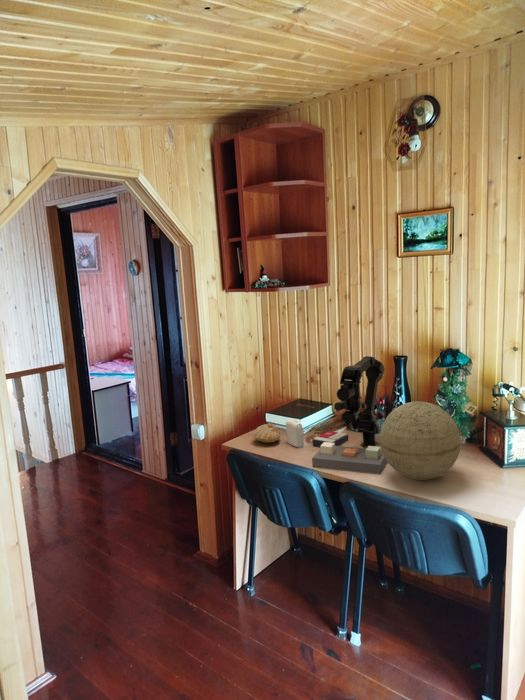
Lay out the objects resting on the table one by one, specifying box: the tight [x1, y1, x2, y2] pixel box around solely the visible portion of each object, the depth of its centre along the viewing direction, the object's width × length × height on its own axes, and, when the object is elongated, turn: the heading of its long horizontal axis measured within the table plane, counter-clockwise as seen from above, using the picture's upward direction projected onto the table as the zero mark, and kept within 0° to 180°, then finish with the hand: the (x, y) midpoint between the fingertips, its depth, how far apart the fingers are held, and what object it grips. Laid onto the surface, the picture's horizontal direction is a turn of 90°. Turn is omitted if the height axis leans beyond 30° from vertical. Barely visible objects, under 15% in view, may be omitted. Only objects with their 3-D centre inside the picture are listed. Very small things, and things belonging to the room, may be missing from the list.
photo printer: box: [285, 418, 305, 448], centre depth 248 cm, size 10×4×12 cm, turn 29°
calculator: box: [312, 430, 349, 449], centre depth 247 cm, size 11×4×15 cm
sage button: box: [366, 445, 381, 460], centre depth 216 cm, size 5×5×5 cm
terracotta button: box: [343, 448, 358, 457], centre depth 221 cm, size 5×5×5 cm
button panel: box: [311, 445, 388, 475], centre depth 221 cm, size 16×29×4 cm, turn 64°
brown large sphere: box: [379, 401, 462, 481], centre depth 200 cm, size 30×30×30 cm
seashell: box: [252, 422, 281, 444], centre depth 258 cm, size 8×22×15 cm
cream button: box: [319, 442, 335, 455], centre depth 225 cm, size 5×5×5 cm
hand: (355, 429), depth 227 cm, fingers closed
